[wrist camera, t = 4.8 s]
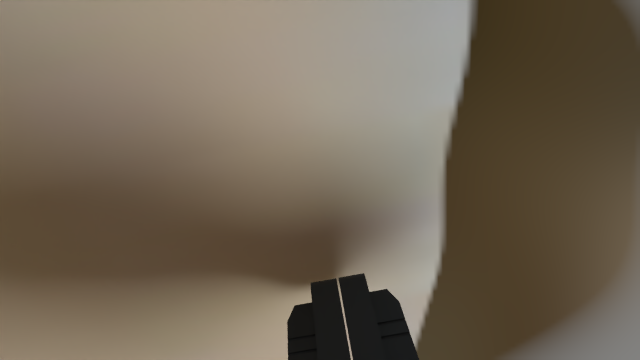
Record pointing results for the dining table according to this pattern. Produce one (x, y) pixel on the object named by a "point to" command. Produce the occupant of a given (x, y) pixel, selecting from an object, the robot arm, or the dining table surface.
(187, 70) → the dining table surface
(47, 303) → the dining table surface
